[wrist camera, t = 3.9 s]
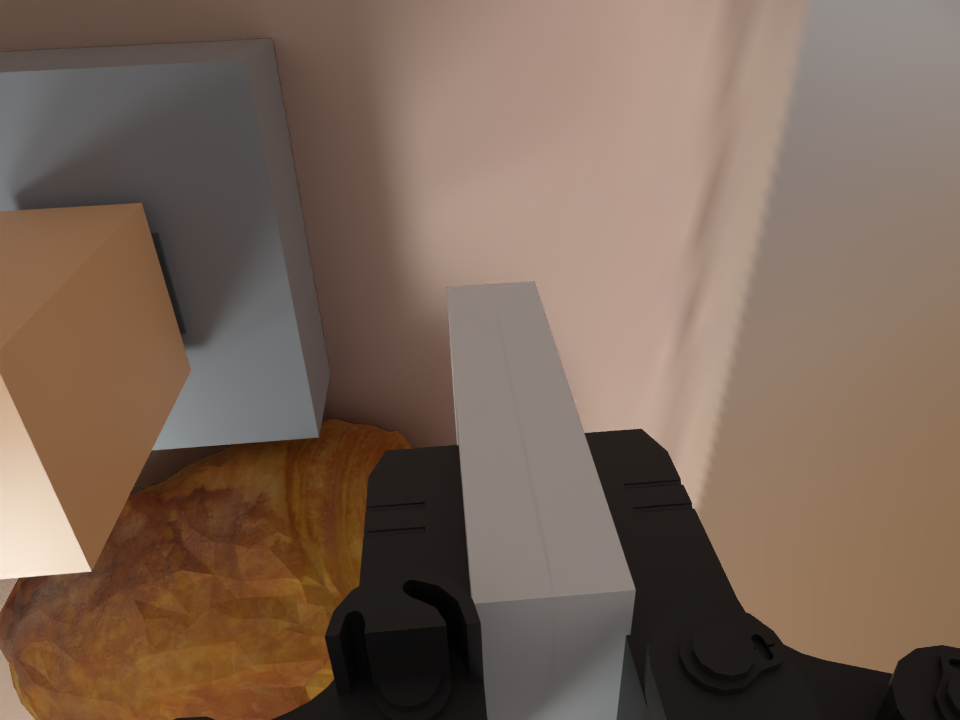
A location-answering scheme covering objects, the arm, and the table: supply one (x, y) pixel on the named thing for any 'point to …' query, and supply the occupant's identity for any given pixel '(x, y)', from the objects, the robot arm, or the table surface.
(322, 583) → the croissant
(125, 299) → the block
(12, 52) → the panel
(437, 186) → the table surface
